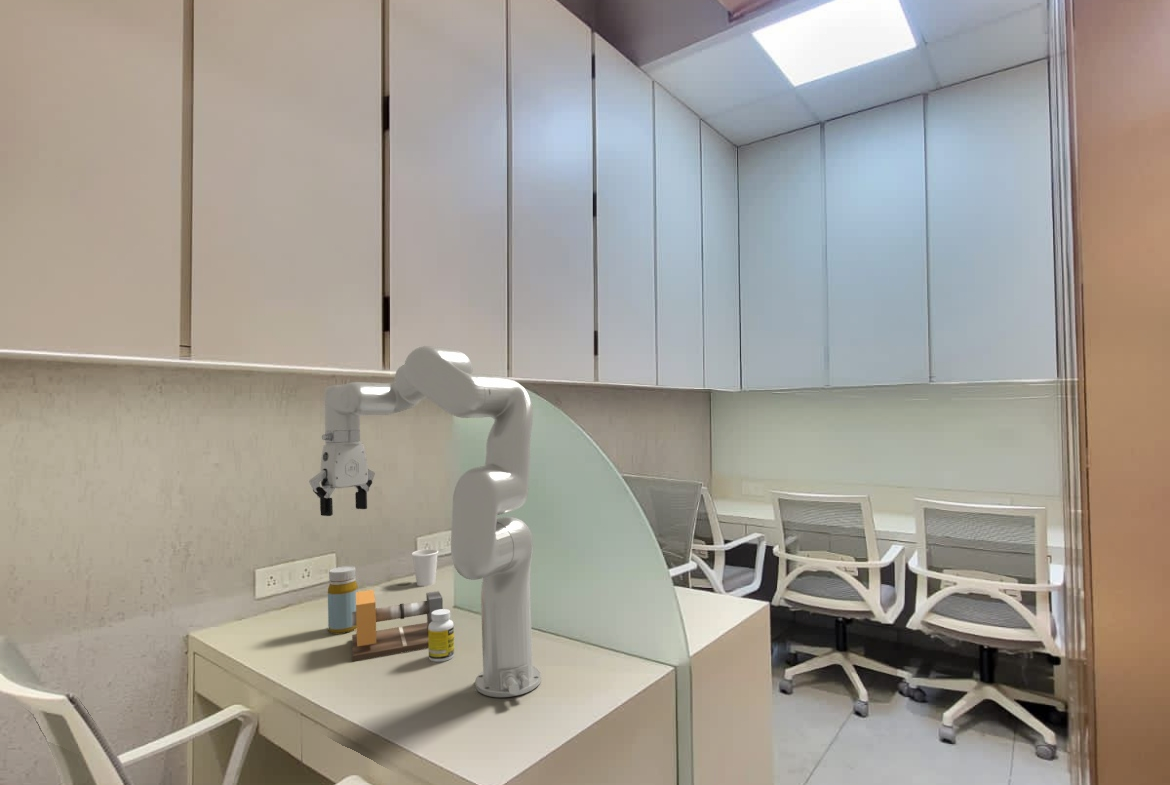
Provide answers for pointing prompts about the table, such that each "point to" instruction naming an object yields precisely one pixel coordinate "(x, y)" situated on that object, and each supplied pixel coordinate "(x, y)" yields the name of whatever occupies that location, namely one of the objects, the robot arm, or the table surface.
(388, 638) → the pipe stand
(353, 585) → the bottle
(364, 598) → the collar
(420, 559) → the dixie cup
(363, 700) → the table surface
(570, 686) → the table surface
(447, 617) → the supplement bottle
